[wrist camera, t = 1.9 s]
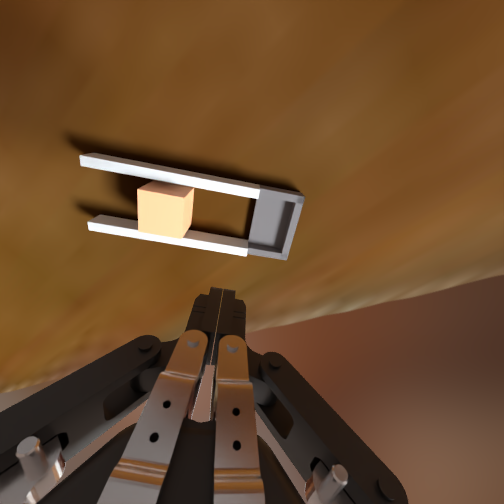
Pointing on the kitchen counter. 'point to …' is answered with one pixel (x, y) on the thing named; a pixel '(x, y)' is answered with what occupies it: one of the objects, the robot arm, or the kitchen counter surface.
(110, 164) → the channel
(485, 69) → the kitchen counter surface
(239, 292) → the kitchen counter surface
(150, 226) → the block
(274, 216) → the tray
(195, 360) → the robot arm
